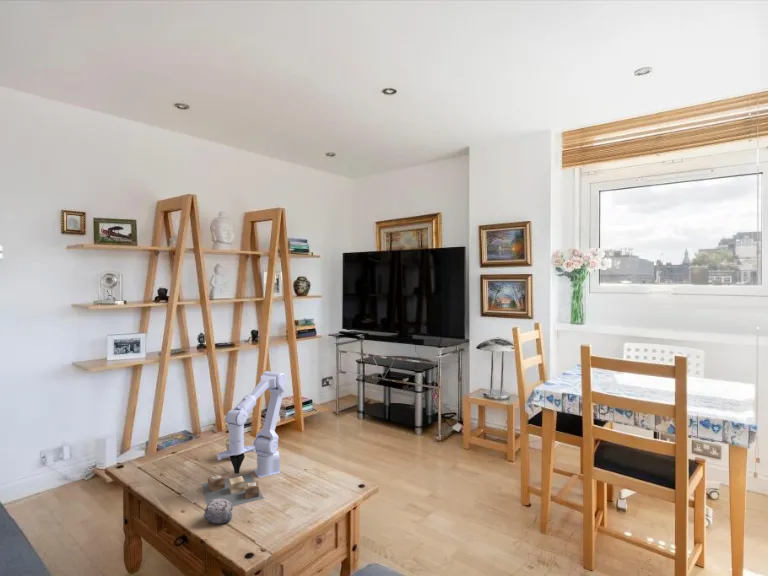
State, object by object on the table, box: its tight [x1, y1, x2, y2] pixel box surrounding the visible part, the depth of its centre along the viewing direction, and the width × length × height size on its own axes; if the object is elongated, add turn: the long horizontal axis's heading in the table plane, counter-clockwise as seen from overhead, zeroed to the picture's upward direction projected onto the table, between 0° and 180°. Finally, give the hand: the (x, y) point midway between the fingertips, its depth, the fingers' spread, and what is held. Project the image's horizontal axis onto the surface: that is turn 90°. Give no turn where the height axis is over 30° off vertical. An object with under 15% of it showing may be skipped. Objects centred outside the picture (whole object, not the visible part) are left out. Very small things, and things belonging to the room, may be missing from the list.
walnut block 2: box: [245, 480, 260, 499], centre depth 166 cm, size 5×5×4 cm
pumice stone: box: [203, 499, 233, 525], centre depth 149 cm, size 10×8×10 cm
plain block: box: [229, 475, 244, 494], centre depth 170 cm, size 5×5×4 cm
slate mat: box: [200, 472, 264, 507], centre depth 169 cm, size 20×24×1 cm
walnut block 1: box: [207, 473, 226, 492], centre depth 172 cm, size 5×5×4 cm
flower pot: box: [224, 437, 246, 461], centre depth 201 cm, size 9×9×9 cm
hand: (236, 472), depth 170 cm, fingers closed
